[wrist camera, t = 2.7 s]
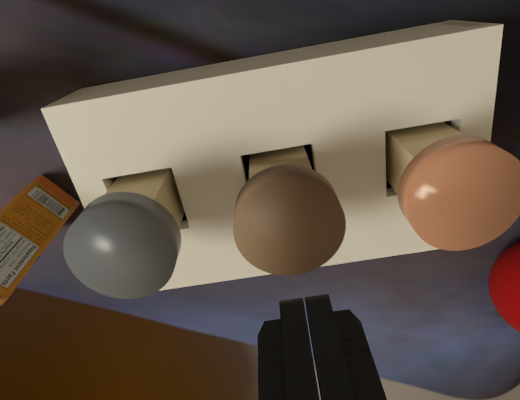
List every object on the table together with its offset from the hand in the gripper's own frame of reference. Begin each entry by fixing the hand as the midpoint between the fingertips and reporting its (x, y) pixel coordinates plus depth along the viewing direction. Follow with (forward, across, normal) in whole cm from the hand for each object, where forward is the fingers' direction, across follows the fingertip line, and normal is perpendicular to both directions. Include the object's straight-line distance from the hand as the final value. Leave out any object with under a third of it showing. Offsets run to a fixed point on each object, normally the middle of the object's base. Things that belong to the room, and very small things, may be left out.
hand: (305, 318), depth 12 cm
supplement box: (+15, +16, +1) cm, 22 cm away
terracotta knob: (+12, -7, 0) cm, 14 cm away
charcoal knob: (+11, +8, 0) cm, 14 cm away
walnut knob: (+11, 0, 0) cm, 11 cm away
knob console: (+15, 0, 0) cm, 15 cm away
